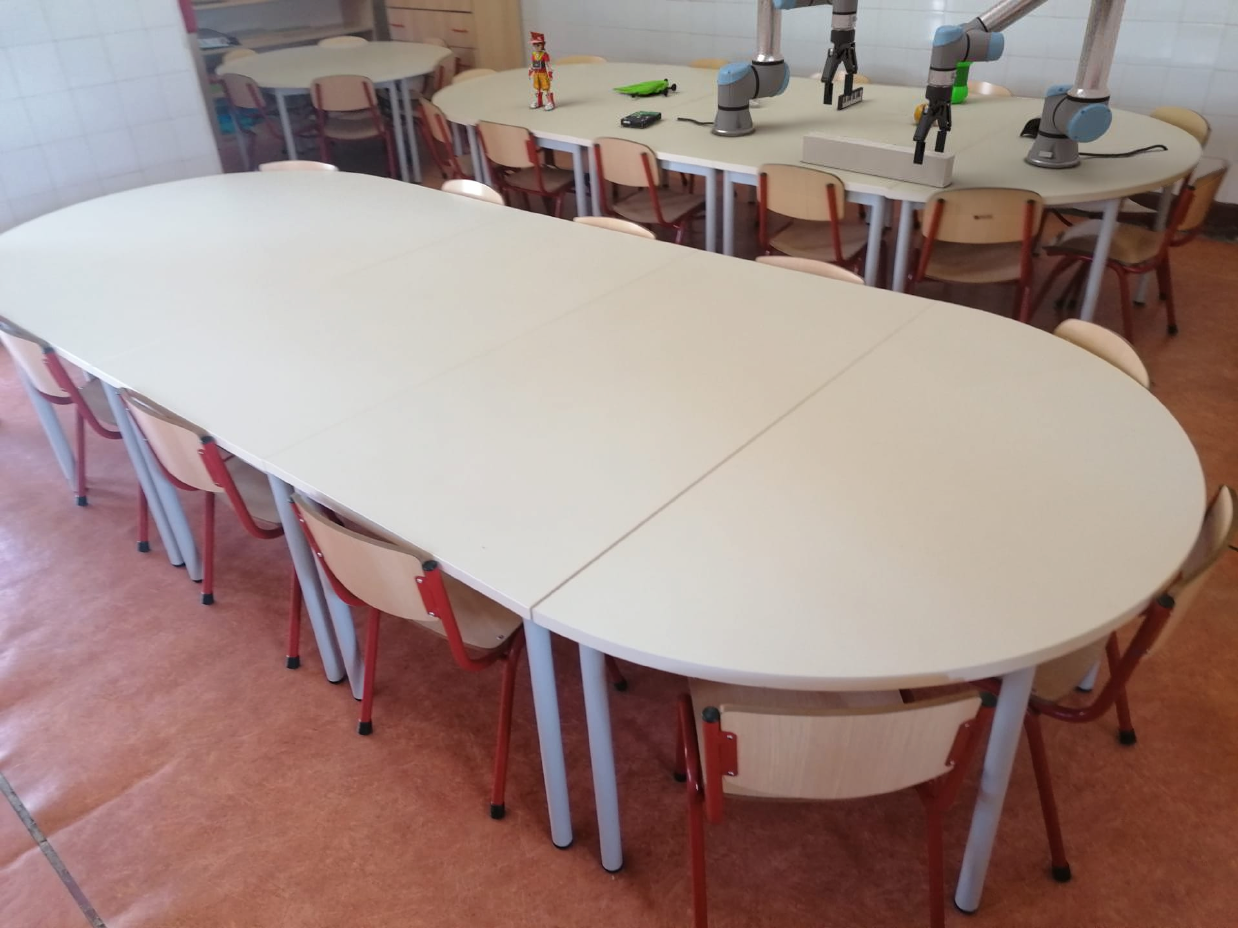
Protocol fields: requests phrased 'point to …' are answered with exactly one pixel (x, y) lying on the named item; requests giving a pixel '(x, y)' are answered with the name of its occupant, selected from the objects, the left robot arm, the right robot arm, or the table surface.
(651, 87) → the toy
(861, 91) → the midi keyboard
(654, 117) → the disk drive
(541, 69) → the toy
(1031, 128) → the black curved piece
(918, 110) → the fruit
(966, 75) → the plastic bottle
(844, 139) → the bar
